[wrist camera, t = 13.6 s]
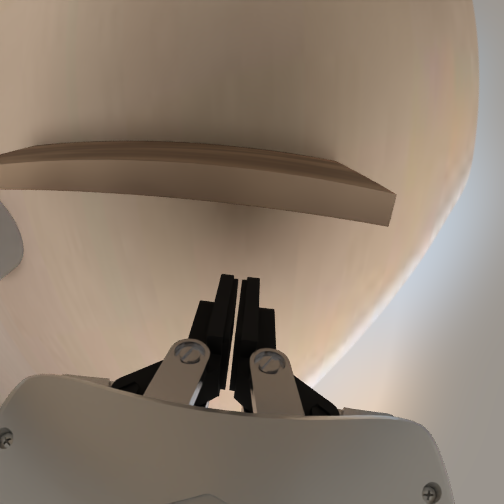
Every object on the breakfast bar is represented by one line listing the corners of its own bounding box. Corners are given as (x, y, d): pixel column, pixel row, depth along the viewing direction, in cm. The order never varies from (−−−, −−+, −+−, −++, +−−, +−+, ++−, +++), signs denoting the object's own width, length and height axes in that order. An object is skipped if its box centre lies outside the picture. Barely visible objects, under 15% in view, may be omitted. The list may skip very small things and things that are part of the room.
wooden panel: (35, 145, 21) (-49, 170, 11) (336, 161, 21) (396, 194, 11) (36, 163, 21) (-46, 194, 11) (332, 183, 22) (386, 233, 12)
